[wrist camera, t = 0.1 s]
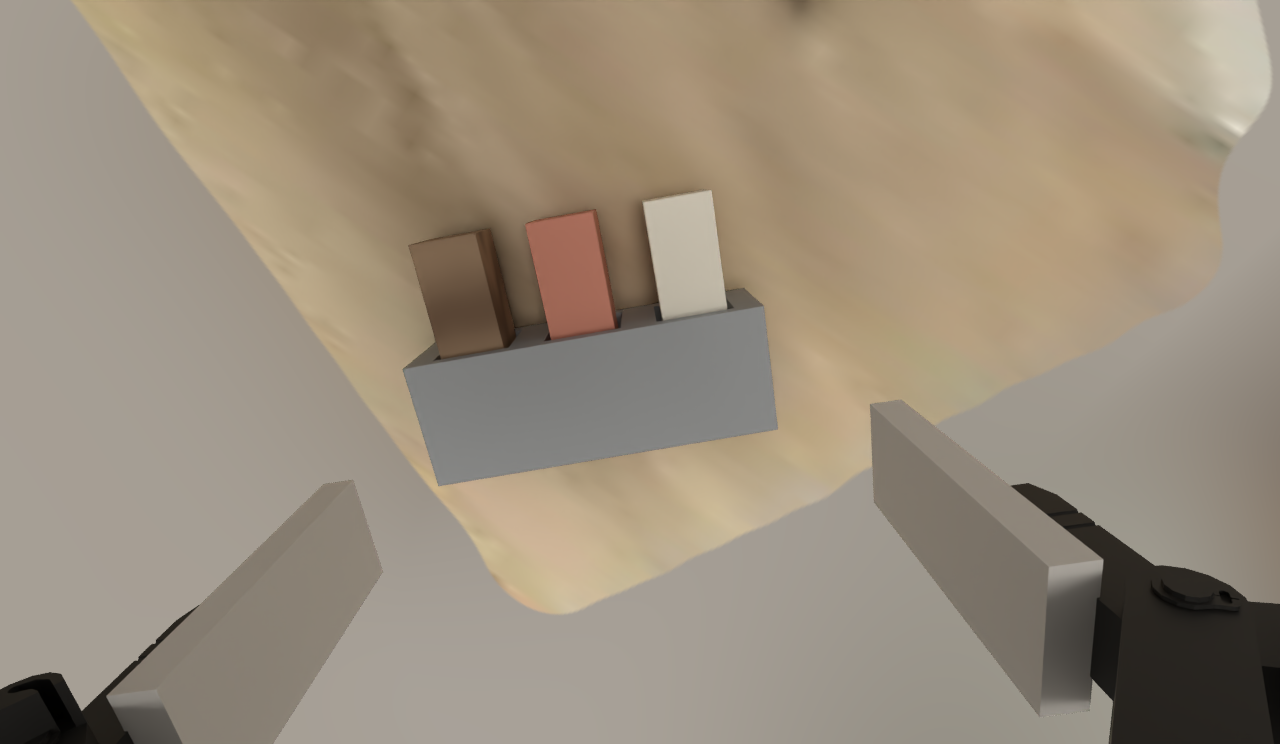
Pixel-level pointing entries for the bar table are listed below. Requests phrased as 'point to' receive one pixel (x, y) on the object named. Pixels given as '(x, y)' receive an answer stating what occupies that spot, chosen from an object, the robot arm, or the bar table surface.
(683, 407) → the socket block
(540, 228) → the brick peg
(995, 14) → the bar table surface
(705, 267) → the cream peg
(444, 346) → the walnut peg
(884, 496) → the robot arm
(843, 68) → the bar table surface
